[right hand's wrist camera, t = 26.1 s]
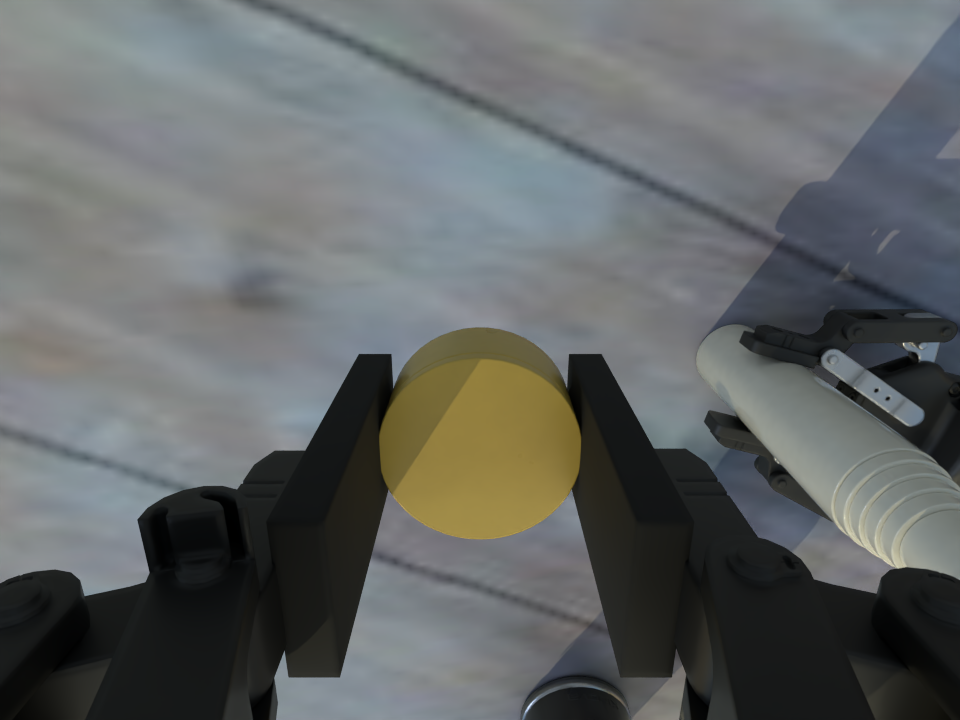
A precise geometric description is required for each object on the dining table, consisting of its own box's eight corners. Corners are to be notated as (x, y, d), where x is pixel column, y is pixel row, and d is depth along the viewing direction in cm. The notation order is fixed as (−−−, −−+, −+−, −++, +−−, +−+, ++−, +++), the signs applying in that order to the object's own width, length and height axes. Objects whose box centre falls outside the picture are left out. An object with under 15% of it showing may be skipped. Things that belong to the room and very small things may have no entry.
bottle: (684, 347, 41) (911, 585, 19) (747, 311, 40) (1059, 518, 18) (713, 399, 42) (957, 676, 21) (775, 365, 41) (1097, 617, 20)
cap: (363, 445, 15) (344, 491, 13) (439, 294, 13) (432, 321, 11) (515, 513, 15) (520, 567, 13) (602, 376, 14) (622, 414, 12)
